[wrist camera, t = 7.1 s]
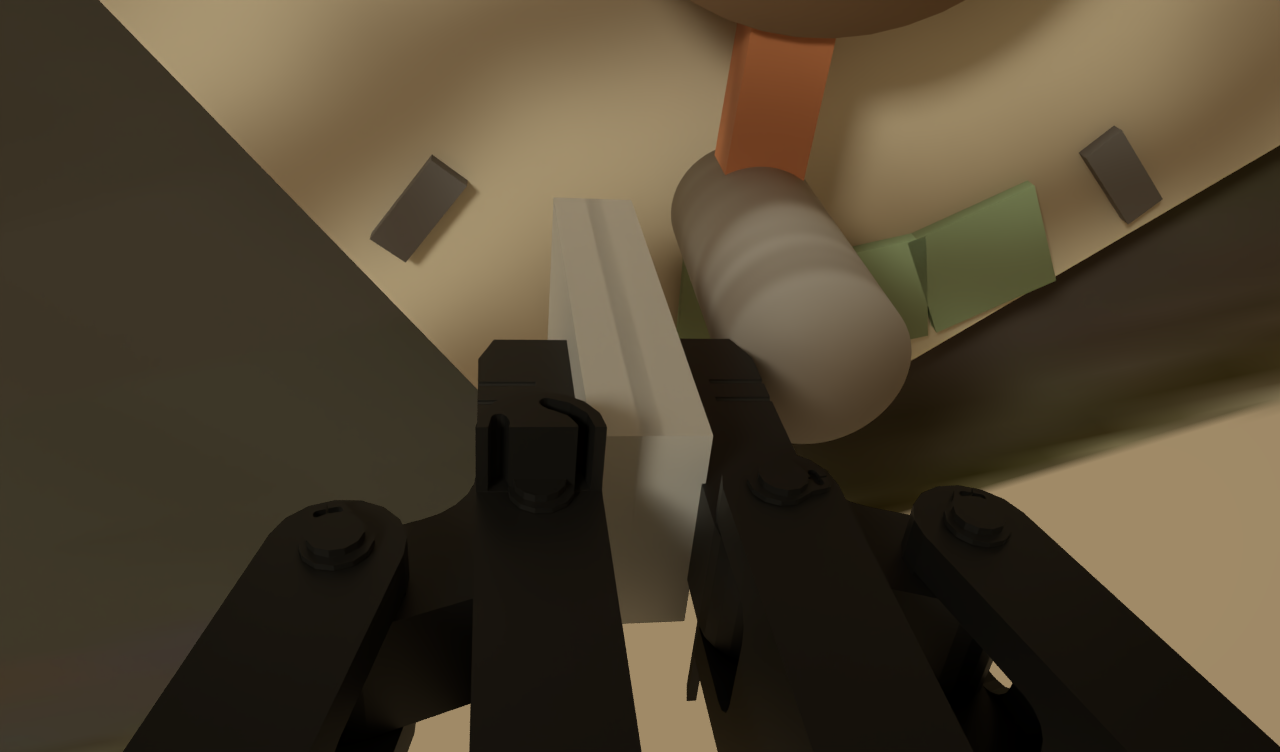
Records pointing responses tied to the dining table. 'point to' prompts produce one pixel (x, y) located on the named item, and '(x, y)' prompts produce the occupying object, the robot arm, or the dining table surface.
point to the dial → (790, 223)
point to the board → (688, 130)
